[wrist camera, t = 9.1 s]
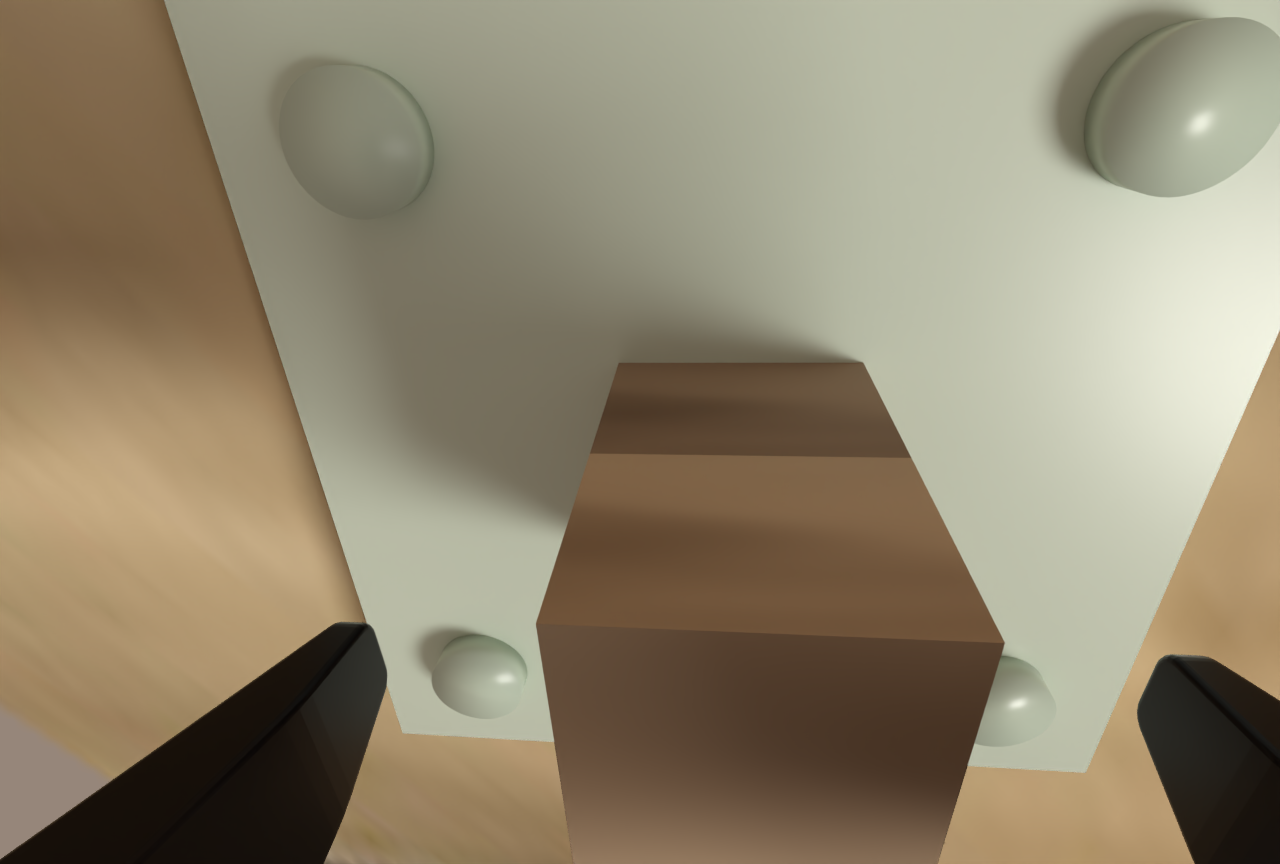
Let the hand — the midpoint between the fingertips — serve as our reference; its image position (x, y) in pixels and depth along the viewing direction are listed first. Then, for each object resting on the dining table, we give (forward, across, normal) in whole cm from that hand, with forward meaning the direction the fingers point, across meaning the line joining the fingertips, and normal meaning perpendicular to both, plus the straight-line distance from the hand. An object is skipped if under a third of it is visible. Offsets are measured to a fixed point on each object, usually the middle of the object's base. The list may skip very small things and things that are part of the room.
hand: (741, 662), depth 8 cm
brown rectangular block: (+5, 0, 0) cm, 5 cm away
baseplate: (+6, 0, 0) cm, 6 cm away
